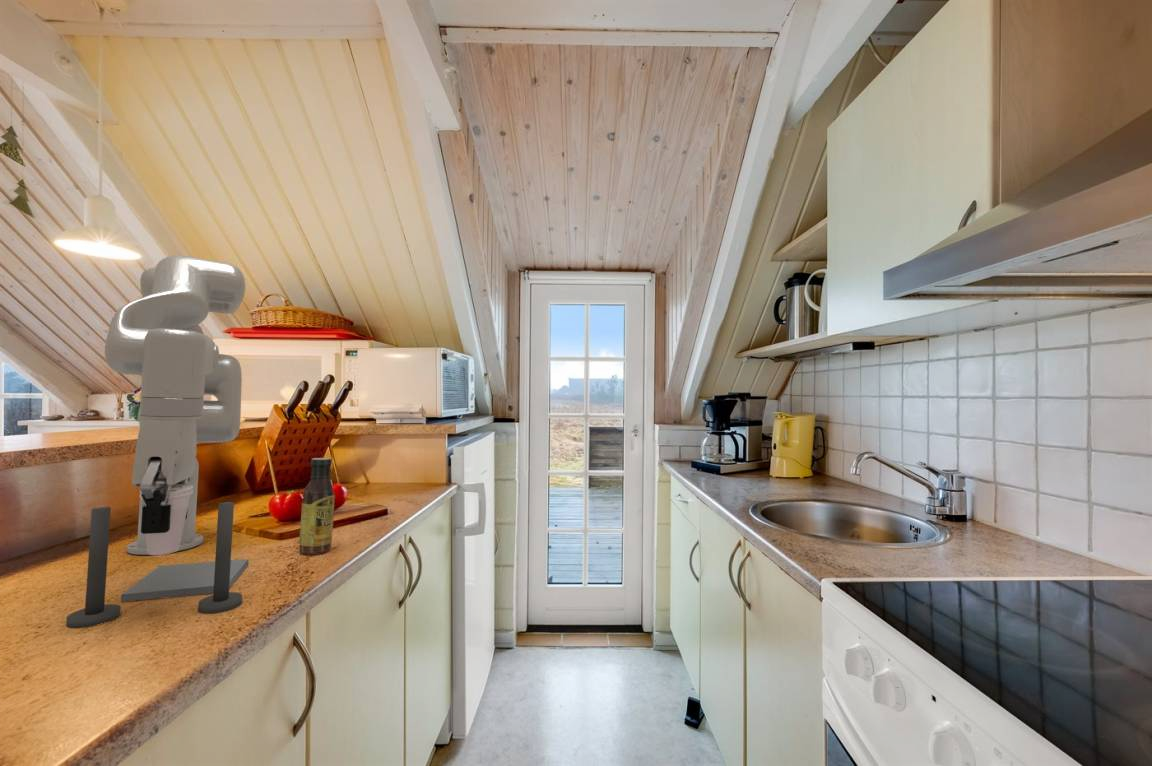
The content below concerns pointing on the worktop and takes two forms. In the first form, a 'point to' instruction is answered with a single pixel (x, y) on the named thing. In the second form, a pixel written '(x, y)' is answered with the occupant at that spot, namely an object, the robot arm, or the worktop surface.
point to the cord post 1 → (96, 576)
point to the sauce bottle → (317, 509)
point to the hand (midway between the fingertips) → (165, 525)
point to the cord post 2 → (222, 566)
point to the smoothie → (171, 522)
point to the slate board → (180, 580)
